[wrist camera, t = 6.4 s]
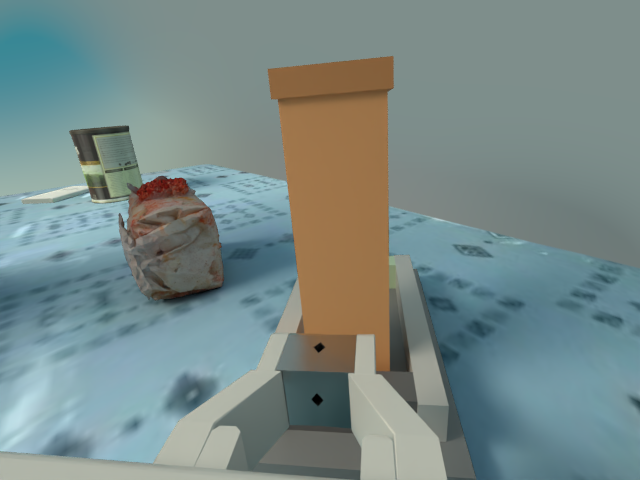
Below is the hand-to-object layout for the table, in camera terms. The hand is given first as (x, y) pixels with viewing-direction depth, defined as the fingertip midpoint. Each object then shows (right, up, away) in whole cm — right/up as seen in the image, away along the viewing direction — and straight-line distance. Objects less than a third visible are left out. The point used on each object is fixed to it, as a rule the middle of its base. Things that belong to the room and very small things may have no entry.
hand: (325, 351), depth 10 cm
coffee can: (-43, +12, +64) cm, 78 cm away
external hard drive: (-60, +13, +71) cm, 93 cm away
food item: (-14, 0, +25) cm, 29 cm away
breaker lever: (+2, -4, +9) cm, 10 cm away
